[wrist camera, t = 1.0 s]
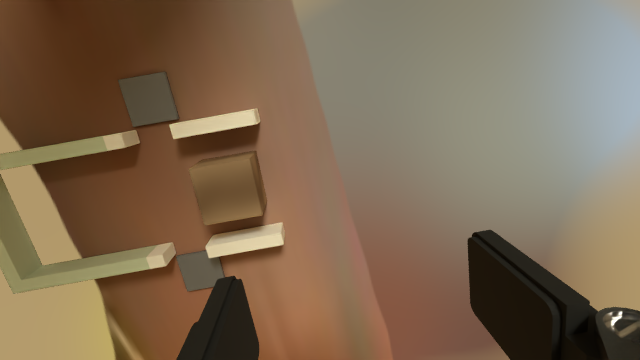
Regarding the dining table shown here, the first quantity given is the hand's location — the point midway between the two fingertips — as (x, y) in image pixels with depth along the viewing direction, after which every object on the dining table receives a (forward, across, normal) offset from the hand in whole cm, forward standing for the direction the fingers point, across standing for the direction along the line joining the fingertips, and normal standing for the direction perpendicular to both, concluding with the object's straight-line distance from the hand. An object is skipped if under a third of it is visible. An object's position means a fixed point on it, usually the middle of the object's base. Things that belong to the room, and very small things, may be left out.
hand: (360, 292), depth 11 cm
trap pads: (+20, +14, 0) cm, 24 cm away
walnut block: (+20, +8, 0) cm, 22 cm away
